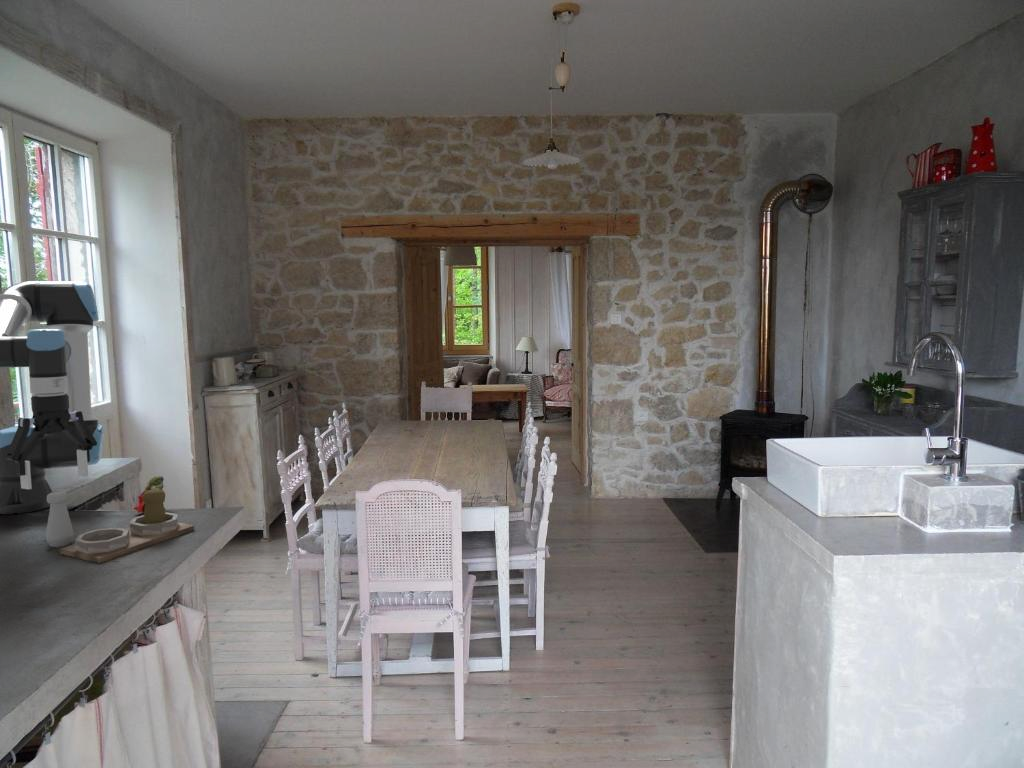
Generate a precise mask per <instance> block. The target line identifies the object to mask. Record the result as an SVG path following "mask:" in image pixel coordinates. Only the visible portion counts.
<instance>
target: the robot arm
mask: <svg viewBox="0 0 1024 768" xmlns="http://www.w3.org/2000/svg"><path fill="white" fill-rule="evenodd" d="M95 297H96V296H95V294H94V291H93V287H92V285H91V284H90V283H88V282H85V281H84V282H83V281H74V280H72V281H71V280H70V281H69V280H68V281H66V280H62V281H60V280H55V281H52V280H49V281H48V280H43V281H42V280H39V281H38V280H29V281H22V282H18V283H16V284H13V285H10V286H7V287H6V288H4V289H2V290H0V369H2V368H3V369H6V368H28V370H29V374H28V375H29V389H30V391H29V392H30V394H32V396H31V397H30V401H31V402H30V403H31V404H30V405H31V412H32V417H29V418H26V417H19V418H18V419H17V420H18V421H17V425H15V426H11V427H8V428H4V429H0V515H15V514H14V513H18V514H25V512H26V513H31V512H35V511H41V510H43V509H47V508H50V503H48V502H47V495H48V494H49V493H52V492H53V489H52V488H51V485H50V484H49V482H48V479H47V477H46V476H47V475H46V470H49V469H62V468H64V469H65V468H72V467H73V468H75V467H77V475H78V477H84V478H86V477H89V469H88V468H89V467H88V466H92V465H96V464H98V463H99V462H100V460H101V457H102V453H103V446H104V434H105V432H104V431H105V427H104V426H103V425H102V424H99V420H98V418H97V417H96V416H94V415H93V414H92V401H91V400H92V397H91V379H90V377H91V376H90V360H89V356H90V355H89V339H88V337H89V335H88V334H89V332H91V330H93V329H94V323H95V322H98V321H99V314H98V313H99V312H98V307H97V301H96V298H95ZM27 322H29V323H30V322H39V323H40V322H42V323H43V322H45V323H46V328H39V329H37V328H36V329H34V328H33V329H29V330H28V331H27V333H26V335H25V336H24V335H23V336H19V335H20V331H21V329H22V326H23V325H25V324H26V323H27Z"/></svg>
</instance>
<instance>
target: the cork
mask: <svg viewBox="0 0 1024 768" xmlns="http://www.w3.org/2000/svg"><path fill="white" fill-rule="evenodd" d="M143 492H144V491H143ZM164 500H165V501H166V493H165V490H163V489H162V490H160V489H152V490H148V491H146V492H144V494H143V502H144V503H145V511H144V513H143V515H144V519H143V524H144V525H145V524H156V523H162V522H165V521H166V516H165V512H166V509H165V510H164V508H165V506H164V503H165V502H164Z"/></svg>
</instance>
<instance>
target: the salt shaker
mask: <svg viewBox="0 0 1024 768" xmlns="http://www.w3.org/2000/svg"><path fill="white" fill-rule="evenodd" d="M68 499H69V497H68V493H67V492H66V491H64V490H63V491H62V490H58V491H52V493H49V494H48V495H47V502H48V503H50V507H49V511H48V517H47V518H48V519H47V525H46V532H45V539H46V541H47V543H48V544H49V546H50V548H62V547H66V545H67V546H69V545H70V544H71V543H72V542H73V538H74V534H75V533H74V529H73V526H72V521H71V518H70V514H69V511H68V506H67V503H66V502H68ZM61 546H62V547H61Z"/></svg>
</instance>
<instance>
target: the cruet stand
mask: <svg viewBox="0 0 1024 768" xmlns="http://www.w3.org/2000/svg"><path fill="white" fill-rule="evenodd" d="M165 516H166V521H165V522H162V523H156V524H145V525H144V524H143V519H144V514H143V515H142V514H141V515H140V516H136V517H133V518H132V519H131V521H130V522H129V526H128V527H123V528H122V527H109V528H108V527H107V528H97V529H93V530H90V531H87V532H84V533H80V534H78V536H77V537H76V539H74V541H75V543H73V544H71V545H70V544H69V545H67V546H62V547H59V549H58V550H59V554H60V555H63V554H64V556H68V557H71V556H72V557H73V558H75V557H76V559H80V560H84V561H88V560H89V561H88V562H92V561H93V562H92V563H96V562H97V563H96V564H101V562H102V563H104V561H105V562H107V561H110V560H113V559H115V557H116V558H119V557H121V555H122V556H125V555H127V554H130V553H132V551H133V552H135V550H136V551H138V549H139V550H141V548H142V549H144V548H147V547H150V546H152V544H153V545H155V543H156V544H158V542H159V543H161V541H162V542H164V541H167V540H170V539H172V537H173V538H176V537H178V536H177V535H179V536H181V535H180V534H182V535H184V534H186V532H187V533H189V531H190V532H192V530H193V531H195V525H193V524H188V523H184V522H183V523H182V522H179V514H178V513H173V512H167V511H165ZM183 533H184V534H183ZM175 536H176V537H175ZM169 538H170V539H169ZM166 539H167V540H166ZM149 545H150V546H149ZM129 552H130V553H129ZM124 554H125V555H124ZM118 556H119V557H118ZM112 558H113V559H112ZM109 559H110V560H109Z"/></svg>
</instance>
